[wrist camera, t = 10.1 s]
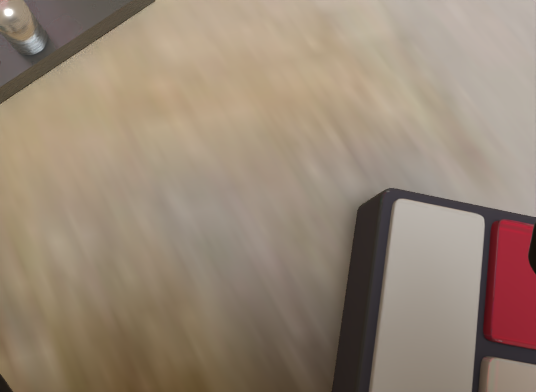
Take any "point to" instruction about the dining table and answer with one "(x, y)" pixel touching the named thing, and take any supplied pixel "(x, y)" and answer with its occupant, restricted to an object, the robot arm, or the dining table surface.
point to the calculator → (438, 299)
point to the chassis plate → (51, 34)
